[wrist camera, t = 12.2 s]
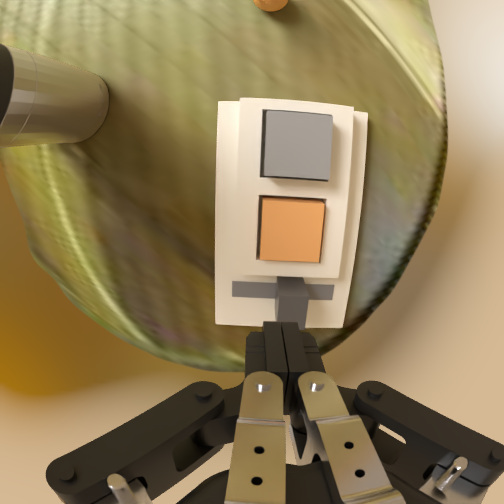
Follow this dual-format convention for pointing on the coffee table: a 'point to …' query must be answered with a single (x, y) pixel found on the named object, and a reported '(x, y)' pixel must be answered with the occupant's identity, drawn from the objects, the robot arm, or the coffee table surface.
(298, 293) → the dark grey block
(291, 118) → the grey button
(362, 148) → the control panel
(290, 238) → the orange button
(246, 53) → the coffee table surface
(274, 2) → the figurine
